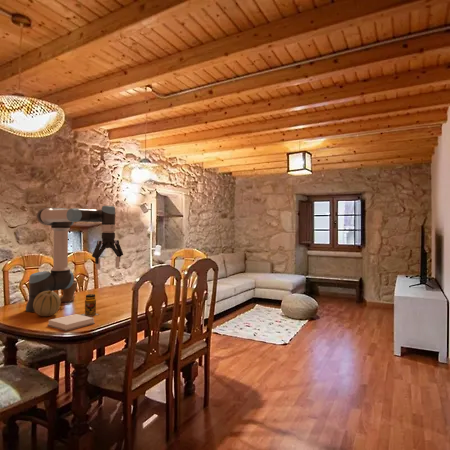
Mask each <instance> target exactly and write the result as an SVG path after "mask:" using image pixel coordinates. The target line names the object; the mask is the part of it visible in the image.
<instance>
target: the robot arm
mask: <svg viewBox="0 0 450 450" xmlns="http://www.w3.org/2000/svg"><path fill="white" fill-rule="evenodd" d="M36 219H37V221H38V223H40V225H44V226H50V227H51V228H50V229H51V230H52V231H53V257H52V258H53V260H52V261H53V266H52V268H51V269H50V271H49V270H48V271H46V270H44V271H38V272H33V273H31V274H30V275H29V279H28V285H29V286H28V300H27V303H26V305H25V311H26V312H28V313H36V312H35V311H34V308H33V302H34V299H35V297H36V296H37V295H38V294H39V293H41V292H43V291H53V292H55V291H61V290H62V291H63V290H64V289H67V288H70V287H71V286H72V284H73V281H74V280H75V275H74V273H73V272H72V271H71V268H70V267H69V266H68V261H69V259H68V258H69V257H68V256H69V254H68V253H69V252H68V251H69V250H68V249H69V230H70V229H71V227H72V226H73V225H74V223H85V222H86V223H101V232H102V233H101V240H97V241H96V246H95V248H94V250H93V253H92V255H91V258H94V263H95V270H99V271H100V270H101V258H100V257H101V255H102V254H103V252H104V251H105V250H106V249H111V250H112V252H113V253H114V254H115V255H116V256H115V266H114V267H115V268H118V269H119V268H120V263H121V257H122V256H123V255H124V252H123V250H122V246H121V245H120V240H119V239H117V240H116V239H115V238H116V233H115V232H116V207H115V206H114V205H102V206H101V209H91V208H75V207H74V208H63V207H62V208H61V207H43V208H40V209H39V210H38V211H37V212H36Z"/></svg>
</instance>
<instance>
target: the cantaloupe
mask: <svg viewBox="0 0 450 450" xmlns="http://www.w3.org/2000/svg"><path fill="white" fill-rule="evenodd" d="M60 297H61V296H60V295H59V294H58V293H57V292H55V291H43V292H41V293H39V294H38V295H37V296H36V297H35V299H34V302H33V308H34V311H35V312H34V313H36V314H37V315H38V316H41V317H49V316H52V315H55V314H56V313H57V312H58V311H59V310H60V307H61V303H62V302H61V300H60Z"/></svg>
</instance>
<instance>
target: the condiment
mask: <svg viewBox="0 0 450 450" xmlns="http://www.w3.org/2000/svg"><path fill="white" fill-rule="evenodd" d="M80 315H83V316H87V317H93V316H97V315H98V316H99V313H97V299H96V294H94V293H92V294H91V293H90V294H86V295H85V300H84V313H82V314H80Z"/></svg>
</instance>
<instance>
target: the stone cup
mask: <svg viewBox="0 0 450 450" xmlns="http://www.w3.org/2000/svg"><path fill="white" fill-rule="evenodd" d="M77 287H78V281H77V280H75V279H74V281H73V284H72V286H71V287H70V288H67V289H64V290H62V295H61V296H59V297H60V300H61V303H64V302H65V303H68V302H69V303H70V302H73V301H74V300H75V298H76V296H74V295H75V293H76V290H77Z"/></svg>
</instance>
